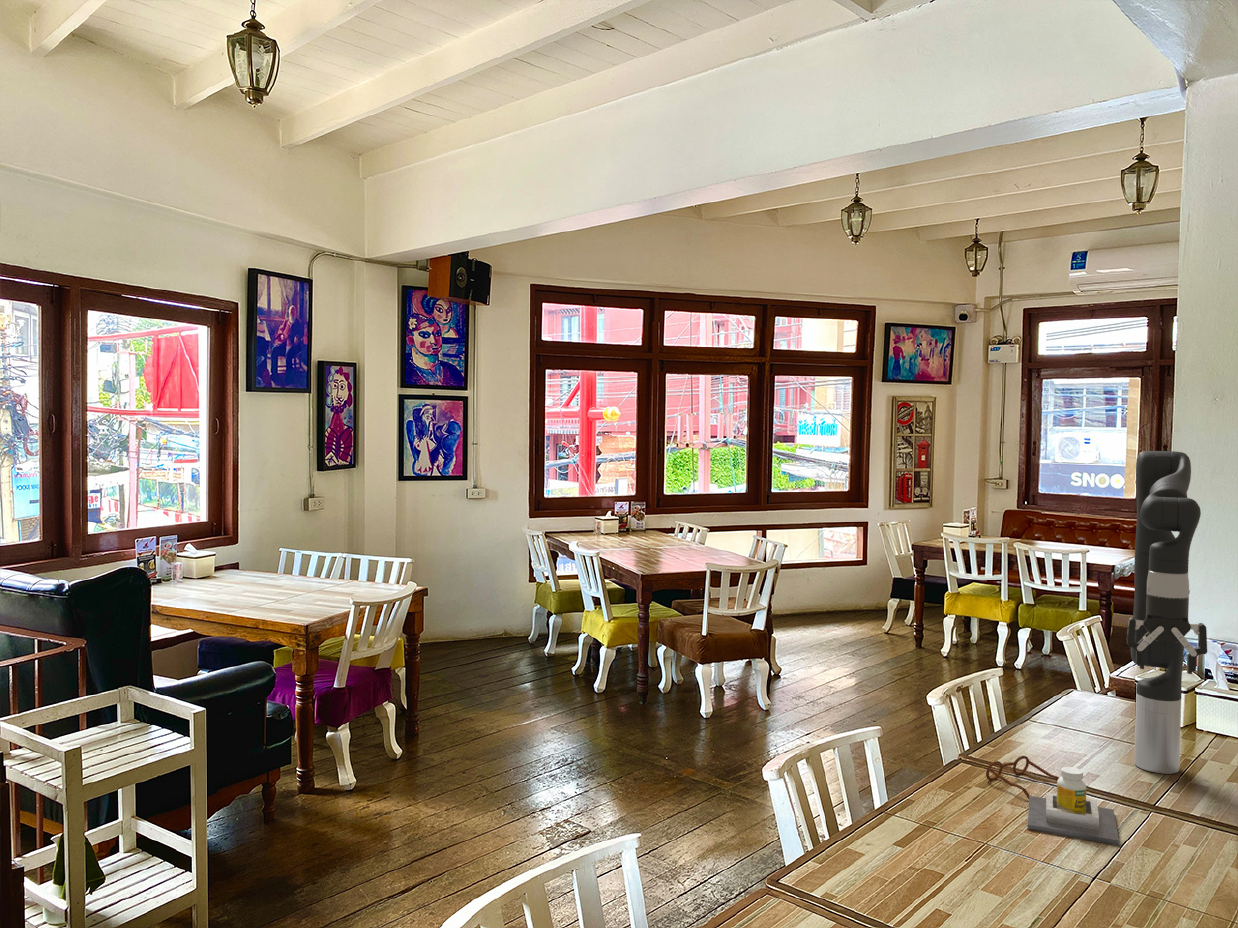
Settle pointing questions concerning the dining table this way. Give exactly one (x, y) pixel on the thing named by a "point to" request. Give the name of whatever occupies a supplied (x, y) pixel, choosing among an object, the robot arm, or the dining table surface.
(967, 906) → the dining table surface
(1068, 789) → the supplement bottle
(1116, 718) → the dining table surface
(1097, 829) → the mount
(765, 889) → the dining table surface
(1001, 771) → the glasses
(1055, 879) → the dining table surface
